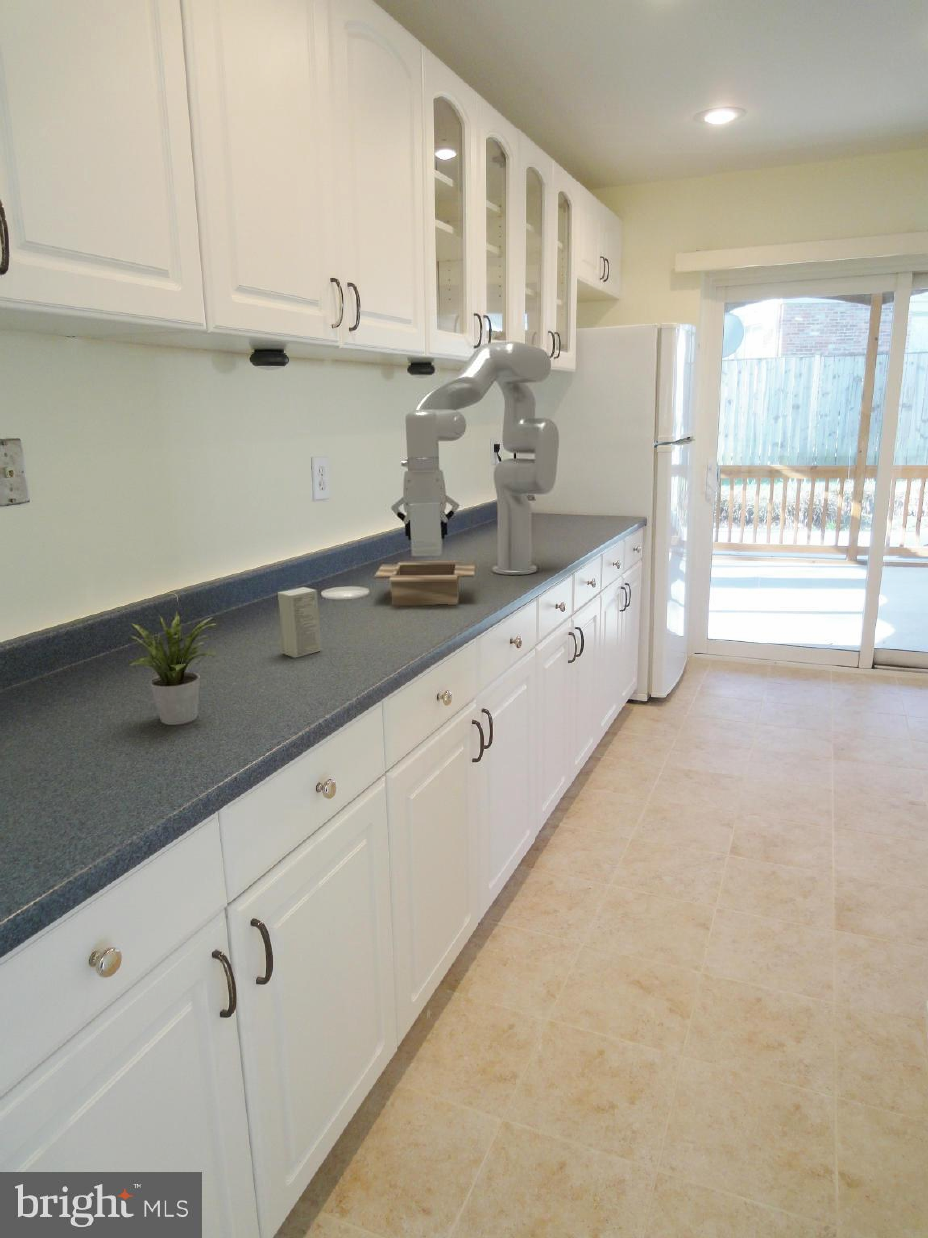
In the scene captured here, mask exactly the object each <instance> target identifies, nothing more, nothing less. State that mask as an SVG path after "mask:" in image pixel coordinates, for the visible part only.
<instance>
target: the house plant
mask: <svg viewBox="0 0 928 1238" xmlns="http://www.w3.org/2000/svg"><path fill="white" fill-rule="evenodd" d="M158 616H159V619H160V621H161V623H162V627H163V631H164V634H165V638H166V643H167V648H168V649H167V650H168V652H167V650H166V647H165V645H164V642H163V639H162V637H161V634H158V635H157V636H156V637H157V642H156V640H155V638H154V637H153V636H152V635H151V633H149V631H147V630H146V629H144V628H142V627H141V626H139V625H138V624H134V623H131V625H132V626H133V627H134V628H136V629H137V631H138V632H139V633H140V635H141V636H142V637H143V638H144V640H145V642H146V643H147V644H146V643H144V641H142V640H141V639H140V638H137V637H136V636H133V635H131V634H129V636H130V638H133V639H134V640H136V641H137V642H139V643H140V645H142V647H144V648H145V649H147V650H148V651H149V657H142V658H139V659H138V660H135V661H133V662H132V663H130V666H134V665H135V666H136V665H148V666H149V667H151V668H152V669H153V670H154V671H155V672H156V673H157V675H158V676H155V677H153V678H152V679H150V681H149V685H150V688H151V692H152V694H153V698H154V702H155V704H156V708H157V712H158V715H159V718H160V722H161V723H162V724H165V725H169V726H170V725H171V726H172V725H173V726H174V725H175V726H176V725H183V724H187V723H191V722H193V721H194V720H196V719H197V717H198V709H199V699H200V698H199V695H200V684H201V683H200V681H201V677H200V674H198V673H195V672H191V671H192V670H190V671H186V670H187V668H188V665H189V664H190V663H191V662H192V661H194V659H196V658H200V657H202V658H201V659H200V661H199V662H198V663H196V665H195V666H197V665H198V664H199V663H201V660H203V659H204V658H206V657H212V658H214V659H216V657H215V656H213V655H212V654H218V653H219V652H217V651H214V652H213V651H212V652H209V653H204V651H203V650H200V649H198V648H199V647H200V645H202V644H204V643H206V640H204V641H202V642H199V643H197V644H195V645H194V646H193V644H194V643H195V642H196V641H197V640H199V639H202V638H205V637H206V638H207V637H208V635H201V636H199V637H198V638H197V636H198V635H199V633H200V632H201V631H202V630H204V629H206V628H207V627H211V626H216V625H217V626H218V625H219V623H210V624H206V623H207V622H208V621H210V620H212V619H213V618H214V616H212V617H209V618H207V619H205V620H203V621H201V622H200V623H198V624H197V625H196V627H194V629H192V631H190V633H188V634H187V635H185V636H183V637H181V633H182V626H181V622H180V615H179V613H178V611H177V610H176V612H175V617H174V619H173V621H172V622H171V626H170V629H169V627H168V625H167V624H166V622H165V620H164V618H163V617H162V616H161V615H160V614H158ZM205 624H206V625H205ZM184 640H185V642H184V644H183V645H182V647H180V645H181V642H183V641H184ZM192 646H193V647H192ZM200 652H203V653H200ZM199 653H200V654H199Z"/></svg>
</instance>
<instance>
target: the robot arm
mask: <svg viewBox="0 0 928 1238" xmlns="http://www.w3.org/2000/svg"><path fill="white" fill-rule="evenodd" d="M551 361H552V360H551V357H550V355H549V354H548V352H547V351H546V350H545V349H543V348H541V347H538V346H535V345H531V344H527V343H523V342H520V341H502V342H489V343H484V344H482V345H480V346H478V347H477V349H476V350H475V351H473V353H472V354H471V356H470V357H469V359H468V360H467V361H466V362H465V364H464V366H463V367H462V368H461V369H460V371H459V372H458V373H457V374H456V376H455V377H454V378H451V379H450V380H448V381H446V382H445V383H443V384H441V385H440V386H439V387H436V388H435V389H433V390H432V391H431V392H429V393H428V394H427V395H425V396H424V397H423V398H422V399H421V400H420V402H419V403H418V405H417V406H416V407H415V409H414V410H413V411H410V412H408V413H407V414H406V415H405V433H406V434H405V437H406V459H405V460H401V467H405V468H407V470H405V471H404V474H403V483H402V484H403V486H402V489H403V490H402V491H403V492H402V493H403V494H402V495H403V496H402V497H401V498H400V499H398V500H397V501H396V502H395V503H394V504H392V505H391V508H390V509H391V511H393V513H394V514H395V515H396V516H397V518H399V519H400V520H401V521H402V522H403V523H404V531H405V533H404V534H405V537H408V538H407V540H408V541H411V528H410V506H409V505H410V504H418V503H440V513H441V538H442V540H445V539H446V536H448V522H449V520H451V518H452V517H453V516H454V515H455V513H456V512H457V511H458V509H459V508H460V504H459V502H457V501H455V500H454V499H453V498H451V497H450V496H448V495H447V494H446V493H447V492H446V490H447V489H446V483H445V477H444V476H445V475H444V472H443V470H442V469H440V454H439V453H440V449H439V442H454V441H457V440H460V439H461V438H462V437H463V435H465V433H466V430H467V421H466V418H465V416H464V415H463V414H462V413H461V412H460V411H459V410H461V409H464V408H467V407H470V406H473V405H475V404H477V403H479V402H481V400H482V399H484V397H485V395H486V394H487V393H488V391H489V390H490V388H491V386H493V384H494V383H497V385H498V387H499V388H500V390H501V393H502V396H503V401H504V411H503V422H502V423H503V425H502V438H501V439H502V440H501V441H502V447H503V448H504V450H505V451H506V452H508V453H511V454H518V455H519V454H521V455H522V454H523V455H524V454H525V455H528V454H529V455H534V458H521V457H520V458H517V457H516V458H505V459H503V460H501V461H499V462H497V464H496V465H495V467H494V471H493V482H494V488H495V493H496V502H497V503H496V504H497V565H493V566H492V572H493V573H495V574H500V575H508V576H509V575H510V576H513V575H514V576H519V575H529V574H534V573H536V572H537V571H538V569H537V568H538V567H537V566H536V565H534V564H532V507H531V503H530V501H529V499H528V497H527V495H547V494H549V493H550V492H551V491H552V490H553V488H554V486H555V483H556V478H557V471H558V470H557V468H558V457H559V447H560V445H559V444H560V433H559V429H558V426H557V424H556V423H555V422H554V420H552V419H551V418H546V417H544V418H543V417H536V402H537V401H536V398H535V395H534V392H533V391H532V389H531V388H530V386H529V385H528V383H529V384H530V383H541V382H543V381H545V380H546V379H547V378H548V377H549V375H550V374H551V373H550V372H551V369H552V362H551ZM447 504H448V505H450V506H451V509H450V510H449V511H448V512H447V513H446V512H445V511H446V509H447ZM402 505H403V510H404V512H405V513H406V514H405V513H403V511H401V509H400V507H401V506H402Z"/></svg>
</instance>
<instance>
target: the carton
mask: <svg viewBox="0 0 928 1238" xmlns="http://www.w3.org/2000/svg"><path fill="white" fill-rule="evenodd" d="M475 566H476V565H475V562H474V563H470V562H469V563H460V561H459V560H435V561H433V560H432V561H431V560H430V561H428V560H427V561H425V560H424V561H421V560H420V561H399V562H398V563H397V564H381V565H380V567H379V568H378V570H377V571H376V573H375V574H374V576H373V579H378V580H379V579H380V580H381V579H388V582H389V583H391V584H390V585H391V586H390V589H391V606H429V605H432V606H433V605H434V606H437V605H436V604H448V605H459V597H460V578H475V568H476V567H475Z"/></svg>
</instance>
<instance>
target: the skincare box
mask: <svg viewBox="0 0 928 1238" xmlns="http://www.w3.org/2000/svg"><path fill="white" fill-rule="evenodd" d="M277 599H278V601H277V602H278V610H279V611H278V612H279V623H280V624H279V625H280V636H281V637H280V638H281V639H280V640H281V648H282V650H281V651H282V655H283V654H284V655H285V656H289V657H291V658H295V659H296V658H299V657H303V656H307V655H310V654H314V653H317V652H320V651H321V650H322V646H321V634H320V619H319V618H320V617H319V615H320V614H319V604H318V602H319V601H318V590H317V589H313V588H310V587H306V586H302V587H296V588H292V589H288V590H283V591H278V592H277Z"/></svg>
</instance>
